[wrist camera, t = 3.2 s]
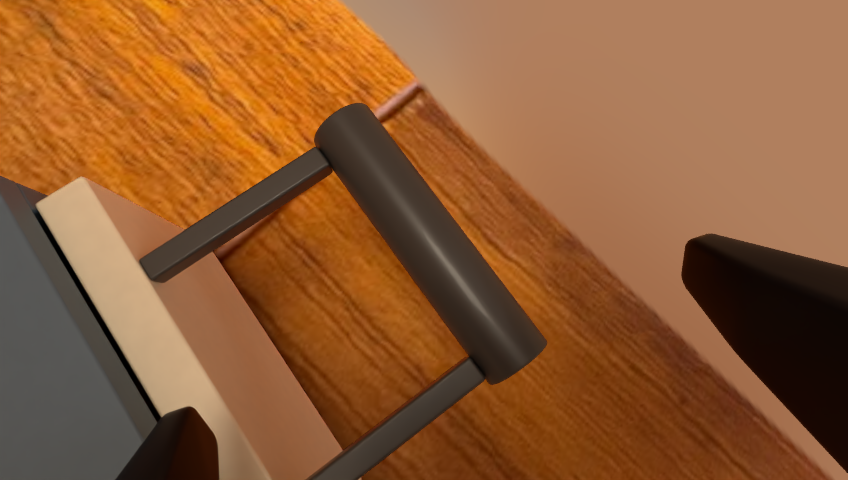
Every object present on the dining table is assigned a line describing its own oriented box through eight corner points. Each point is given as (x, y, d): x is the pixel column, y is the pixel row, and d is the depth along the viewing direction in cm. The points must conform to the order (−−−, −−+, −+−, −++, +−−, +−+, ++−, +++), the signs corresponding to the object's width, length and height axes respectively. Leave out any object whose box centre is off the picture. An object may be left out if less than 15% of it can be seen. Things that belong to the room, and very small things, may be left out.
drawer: (348, 146, 18) (312, 22, 11) (533, 395, 17) (625, 431, 10) (-133, 458, 15) (-584, 553, 8) (29, 801, 14) (-369, 1282, 7)
